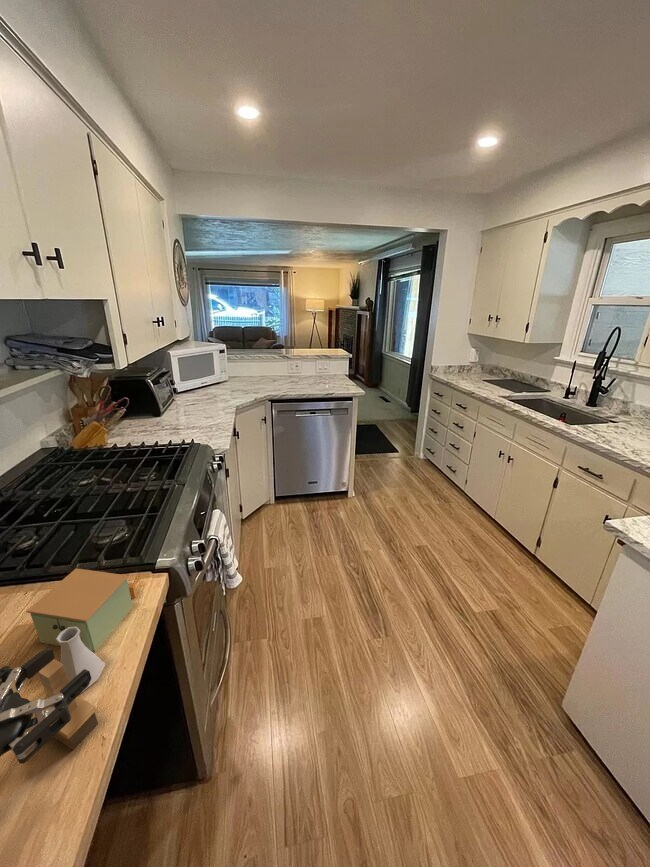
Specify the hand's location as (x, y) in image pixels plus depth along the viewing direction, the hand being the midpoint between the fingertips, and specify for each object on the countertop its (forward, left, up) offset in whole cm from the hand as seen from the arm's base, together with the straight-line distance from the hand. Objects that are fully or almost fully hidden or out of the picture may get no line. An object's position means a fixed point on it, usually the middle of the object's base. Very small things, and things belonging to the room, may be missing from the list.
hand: (69, 662), depth 54 cm
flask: (-5, +5, -11) cm, 14 cm away
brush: (0, -2, -11) cm, 11 cm away
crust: (-9, +22, -10) cm, 26 cm away
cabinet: (-12, +15, -11) cm, 23 cm away
